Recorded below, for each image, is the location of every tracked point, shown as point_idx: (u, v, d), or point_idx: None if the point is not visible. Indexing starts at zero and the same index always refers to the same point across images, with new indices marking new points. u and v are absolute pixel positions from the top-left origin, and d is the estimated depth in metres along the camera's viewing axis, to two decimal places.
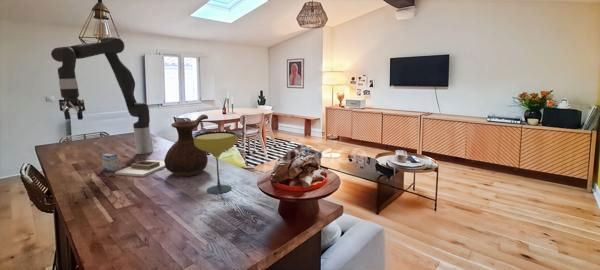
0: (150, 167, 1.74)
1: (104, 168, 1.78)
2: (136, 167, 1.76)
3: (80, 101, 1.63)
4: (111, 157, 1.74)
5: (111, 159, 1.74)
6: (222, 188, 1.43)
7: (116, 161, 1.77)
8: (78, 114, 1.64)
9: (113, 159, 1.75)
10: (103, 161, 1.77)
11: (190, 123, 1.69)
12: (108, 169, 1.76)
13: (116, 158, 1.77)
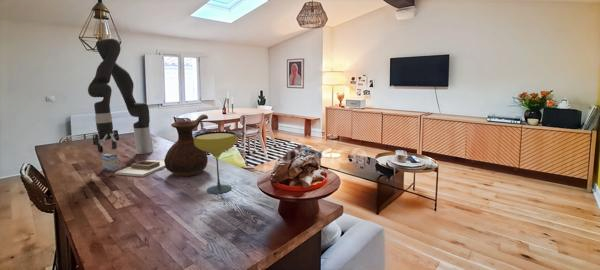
0: (150, 167, 1.74)
1: (104, 168, 1.78)
2: (136, 167, 1.76)
3: None
4: (111, 157, 1.74)
5: (111, 159, 1.74)
6: (222, 188, 1.43)
7: (116, 161, 1.77)
8: (115, 144, 1.80)
9: (113, 159, 1.75)
10: (103, 161, 1.77)
11: (190, 123, 1.69)
12: (108, 169, 1.76)
13: (116, 158, 1.77)
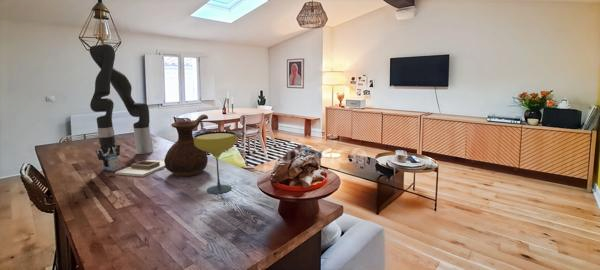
0: (150, 167, 1.74)
1: (104, 168, 1.78)
2: (136, 167, 1.76)
3: None
4: (111, 157, 1.74)
5: (111, 159, 1.74)
6: (222, 188, 1.43)
7: (116, 161, 1.77)
8: None
9: (113, 159, 1.75)
10: None
11: (190, 123, 1.69)
12: (108, 169, 1.76)
13: (116, 158, 1.77)
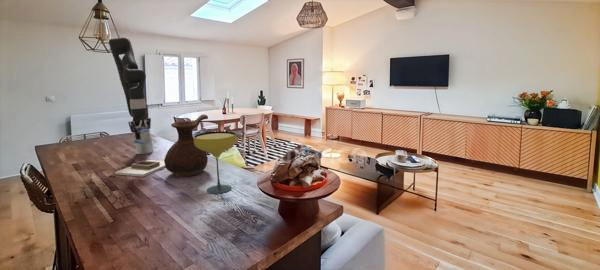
0: (150, 167, 1.74)
1: (135, 141, 1.75)
2: (136, 167, 1.76)
3: None
4: (143, 129, 1.72)
5: (143, 131, 1.72)
6: (222, 188, 1.43)
7: (148, 134, 1.74)
8: None
9: (145, 131, 1.73)
10: (134, 134, 1.74)
11: (190, 123, 1.69)
12: (140, 142, 1.74)
13: (148, 130, 1.74)
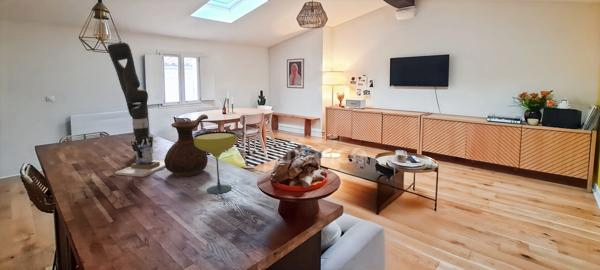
0: (150, 167, 1.74)
1: (138, 159, 1.77)
2: (136, 167, 1.76)
3: None
4: (145, 148, 1.74)
5: (145, 150, 1.74)
6: (222, 188, 1.43)
7: (150, 152, 1.76)
8: None
9: (147, 150, 1.75)
10: None
11: (190, 123, 1.69)
12: (142, 160, 1.76)
13: (150, 149, 1.76)
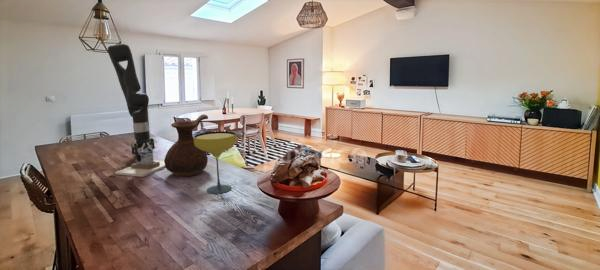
0: (150, 167, 1.74)
1: None
2: (136, 167, 1.76)
3: None
4: (147, 154, 1.75)
5: (147, 156, 1.75)
6: (222, 188, 1.43)
7: (151, 158, 1.78)
8: None
9: (149, 155, 1.76)
10: None
11: (190, 123, 1.69)
12: None
13: (151, 155, 1.77)
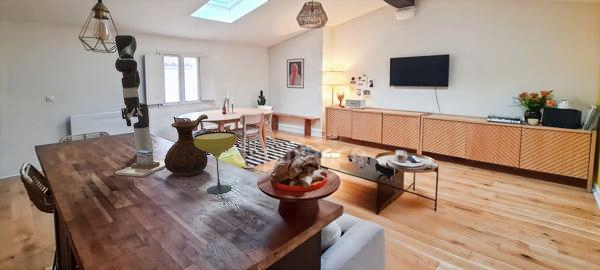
0: (150, 167, 1.74)
1: None
2: (136, 167, 1.76)
3: None
4: (147, 154, 1.75)
5: (147, 156, 1.75)
6: (222, 188, 1.43)
7: (151, 158, 1.78)
8: (141, 118, 1.85)
9: (149, 155, 1.76)
10: (138, 158, 1.77)
11: (190, 123, 1.69)
12: None
13: (151, 155, 1.77)
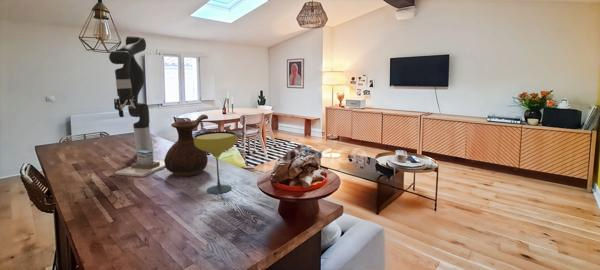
0: (150, 167, 1.74)
1: None
2: (136, 167, 1.76)
3: None
4: (147, 154, 1.75)
5: (147, 156, 1.75)
6: (222, 188, 1.43)
7: (151, 158, 1.78)
8: (134, 110, 1.89)
9: (149, 155, 1.76)
10: (138, 158, 1.77)
11: (190, 123, 1.69)
12: None
13: (151, 155, 1.77)
